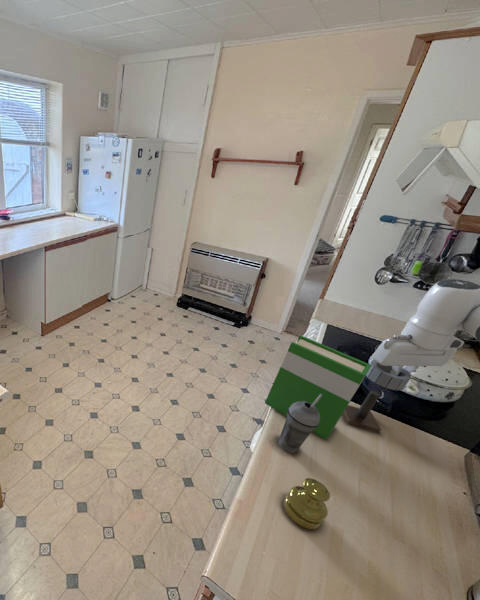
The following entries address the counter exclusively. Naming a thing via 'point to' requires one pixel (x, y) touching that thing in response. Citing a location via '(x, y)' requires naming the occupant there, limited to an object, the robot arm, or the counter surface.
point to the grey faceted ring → (387, 376)
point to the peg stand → (363, 414)
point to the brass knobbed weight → (307, 503)
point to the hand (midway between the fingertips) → (398, 375)
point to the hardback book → (317, 381)
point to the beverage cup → (299, 424)
